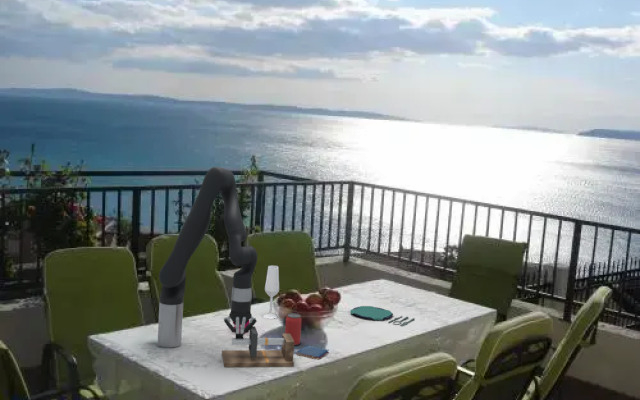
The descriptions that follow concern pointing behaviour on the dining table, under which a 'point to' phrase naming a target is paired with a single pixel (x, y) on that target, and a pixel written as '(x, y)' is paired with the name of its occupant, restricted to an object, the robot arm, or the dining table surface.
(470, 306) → the dining table surface
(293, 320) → the beer can
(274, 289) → the champagne flute
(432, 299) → the dining table surface
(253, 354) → the dark grey block
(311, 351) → the woven mat
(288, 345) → the base board
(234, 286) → the robot arm
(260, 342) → the light grey beam
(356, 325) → the dining table surface
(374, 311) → the cutlery set
